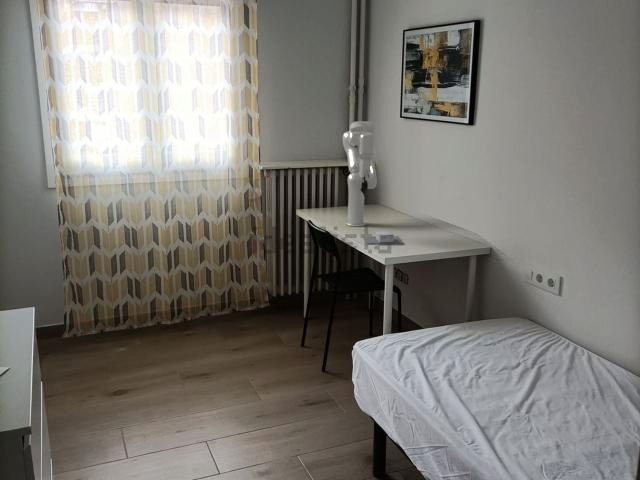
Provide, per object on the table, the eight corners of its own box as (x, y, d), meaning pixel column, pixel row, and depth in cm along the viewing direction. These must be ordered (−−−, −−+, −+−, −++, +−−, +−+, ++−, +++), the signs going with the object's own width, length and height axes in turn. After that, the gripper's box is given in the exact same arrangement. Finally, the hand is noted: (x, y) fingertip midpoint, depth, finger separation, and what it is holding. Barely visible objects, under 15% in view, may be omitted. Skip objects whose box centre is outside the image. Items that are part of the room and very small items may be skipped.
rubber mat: (363, 237, 337) (363, 236, 337) (398, 237, 339) (398, 236, 338) (367, 244, 323) (367, 243, 322) (404, 244, 324) (404, 243, 324)
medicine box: (375, 238, 332) (379, 243, 324) (376, 231, 331) (379, 234, 323) (389, 238, 333) (393, 242, 325) (390, 230, 332) (394, 234, 324)
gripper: (357, 154, 338) (355, 186, 344) (361, 158, 324) (359, 192, 329) (370, 154, 339) (368, 186, 344) (375, 158, 325) (373, 192, 330)
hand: (364, 189), depth 337 cm, fingers closed
